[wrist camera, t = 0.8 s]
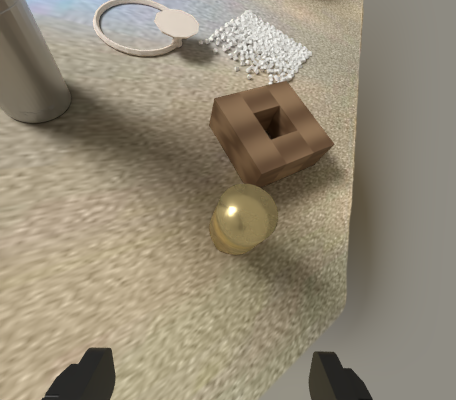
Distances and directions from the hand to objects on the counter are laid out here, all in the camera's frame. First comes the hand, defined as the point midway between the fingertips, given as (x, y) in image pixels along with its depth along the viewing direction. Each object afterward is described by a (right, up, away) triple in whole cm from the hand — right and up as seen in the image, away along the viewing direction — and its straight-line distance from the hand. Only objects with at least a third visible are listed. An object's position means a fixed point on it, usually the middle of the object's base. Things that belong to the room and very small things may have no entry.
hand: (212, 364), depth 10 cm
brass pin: (0, +1, +24) cm, 24 cm away
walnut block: (+7, +16, +33) cm, 37 cm away
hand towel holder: (-15, +40, +39) cm, 58 cm away
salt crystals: (+7, +39, +44) cm, 59 cm away
